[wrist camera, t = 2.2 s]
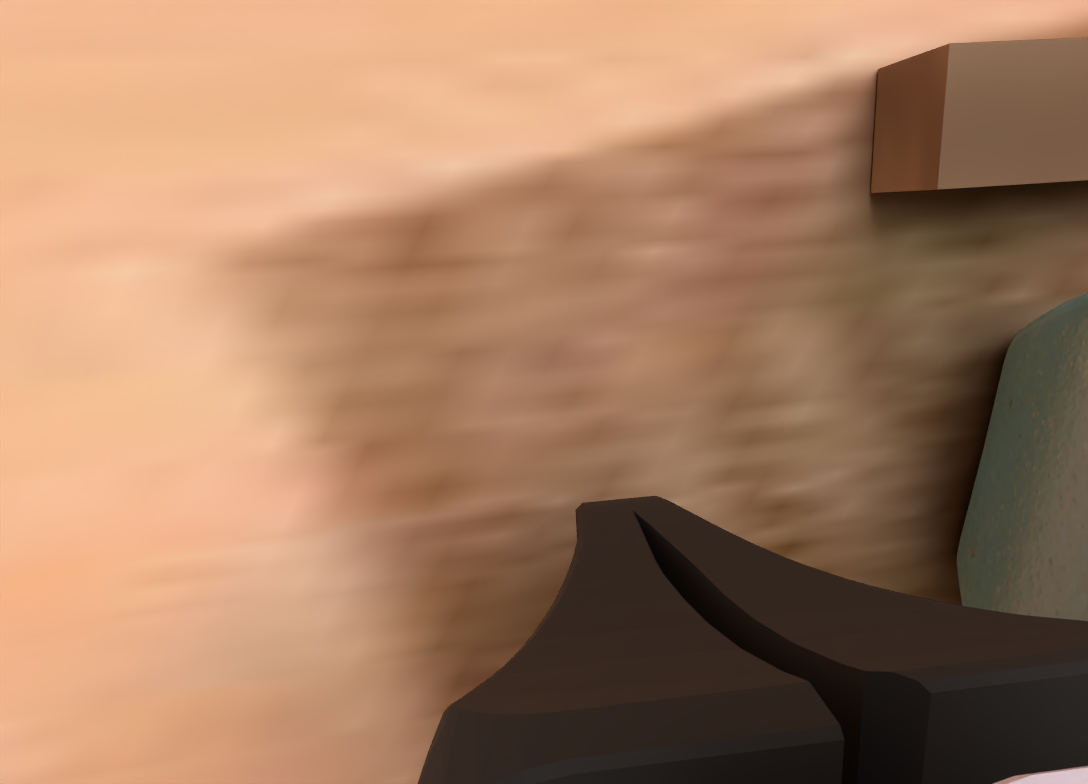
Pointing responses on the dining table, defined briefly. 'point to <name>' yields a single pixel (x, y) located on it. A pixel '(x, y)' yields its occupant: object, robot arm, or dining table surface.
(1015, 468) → the flower pot
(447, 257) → the dining table surface
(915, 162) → the wooden frame
